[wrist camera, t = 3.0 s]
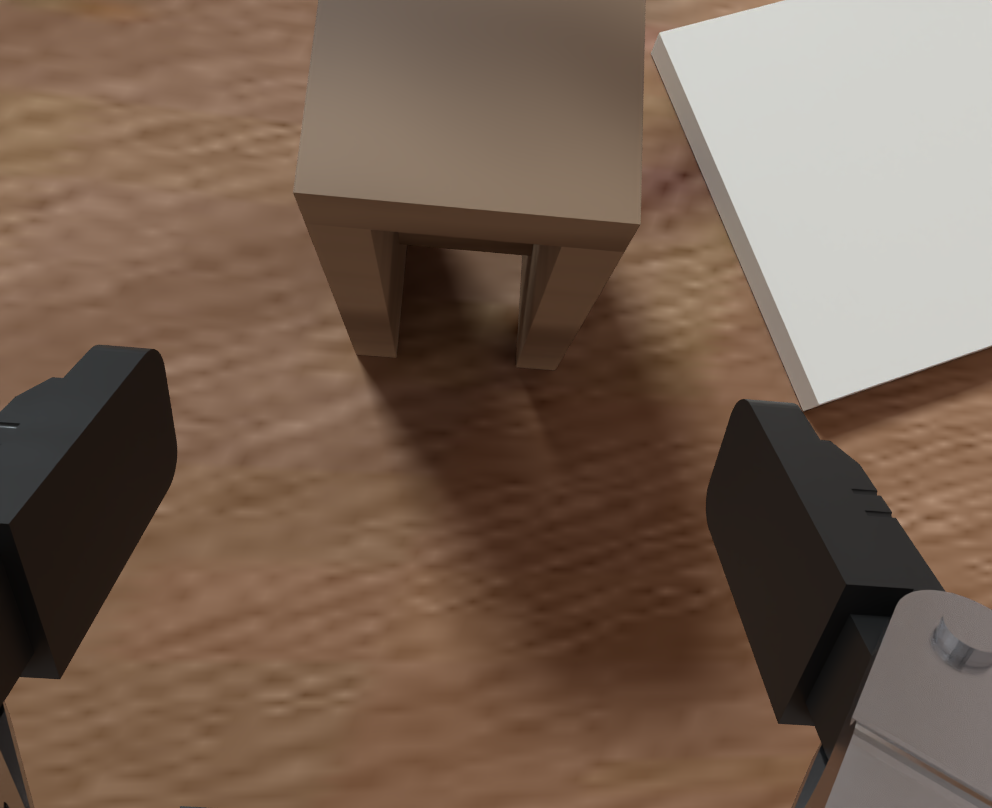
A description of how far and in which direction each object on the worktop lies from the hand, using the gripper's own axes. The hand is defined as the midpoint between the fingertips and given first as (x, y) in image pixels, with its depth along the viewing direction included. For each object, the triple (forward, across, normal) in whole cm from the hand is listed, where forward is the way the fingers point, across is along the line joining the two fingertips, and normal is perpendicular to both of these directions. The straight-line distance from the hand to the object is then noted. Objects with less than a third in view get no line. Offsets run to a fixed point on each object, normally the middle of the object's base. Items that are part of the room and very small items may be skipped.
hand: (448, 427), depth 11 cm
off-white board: (+16, -14, 0) cm, 22 cm away
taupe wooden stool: (+13, 0, +3) cm, 13 cm away
